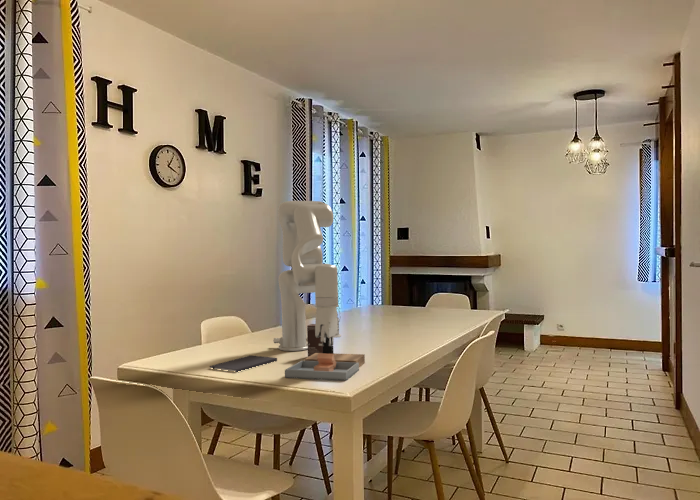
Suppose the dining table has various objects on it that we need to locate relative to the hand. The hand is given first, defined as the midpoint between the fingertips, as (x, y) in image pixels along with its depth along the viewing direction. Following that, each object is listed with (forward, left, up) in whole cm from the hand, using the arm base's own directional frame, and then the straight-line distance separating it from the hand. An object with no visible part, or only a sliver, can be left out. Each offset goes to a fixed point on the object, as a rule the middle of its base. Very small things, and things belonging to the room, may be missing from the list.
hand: (328, 357), depth 186 cm
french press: (-21, +68, -4) cm, 71 cm away
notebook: (-32, +3, -5) cm, 33 cm away
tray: (0, -6, -4) cm, 7 cm away
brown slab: (0, +7, -4) cm, 9 cm away
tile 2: (0, -1, 0) cm, 1 cm away
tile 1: (0, -5, -2) cm, 5 cm away
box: (-11, +20, -4) cm, 23 cm away
